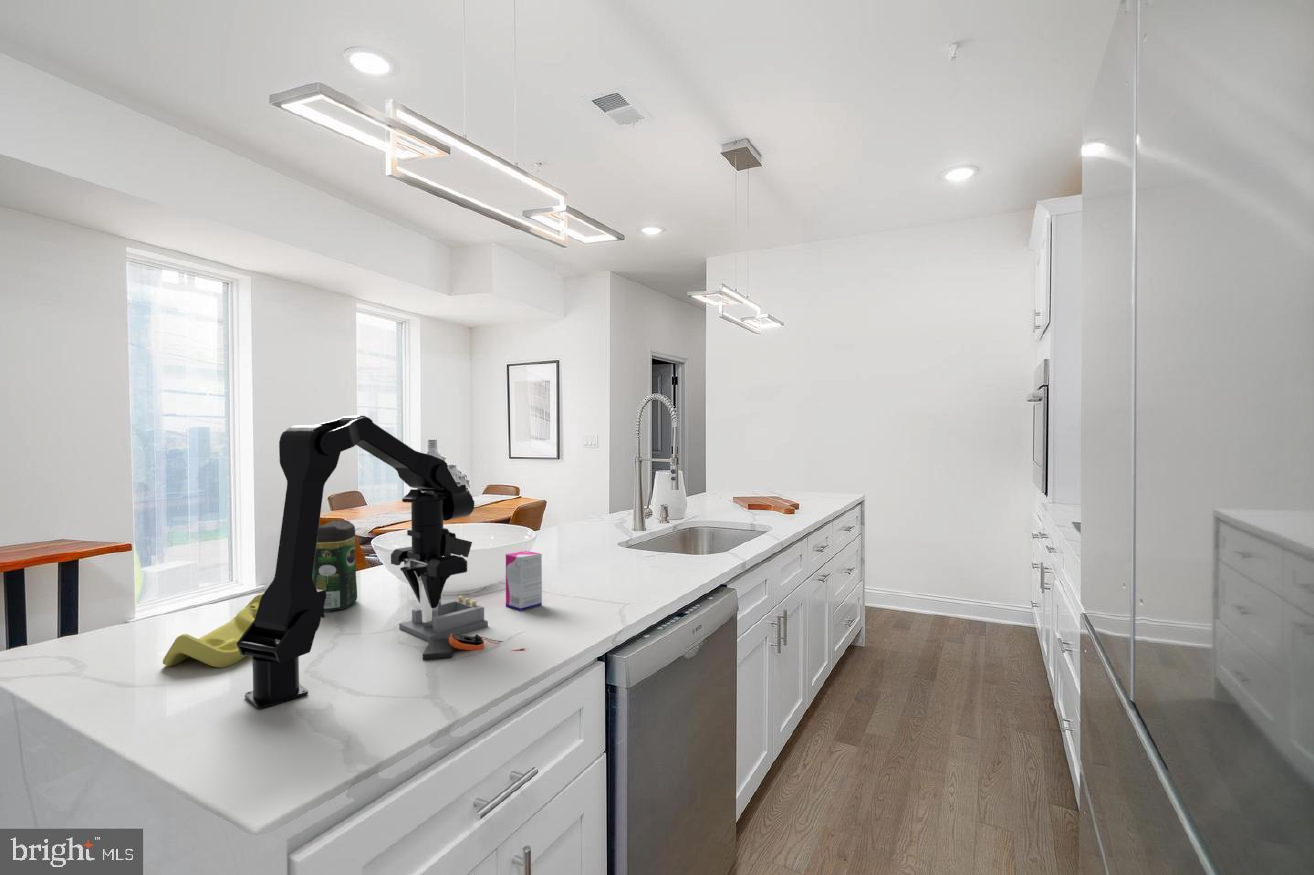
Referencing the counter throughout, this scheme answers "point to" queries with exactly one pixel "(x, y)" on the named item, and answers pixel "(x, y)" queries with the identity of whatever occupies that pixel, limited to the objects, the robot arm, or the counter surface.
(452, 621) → the header socket
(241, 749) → the counter surface
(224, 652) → the plastic component
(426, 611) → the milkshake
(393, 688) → the counter surface
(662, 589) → the counter surface
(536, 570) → the supplement box
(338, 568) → the coffee jar
